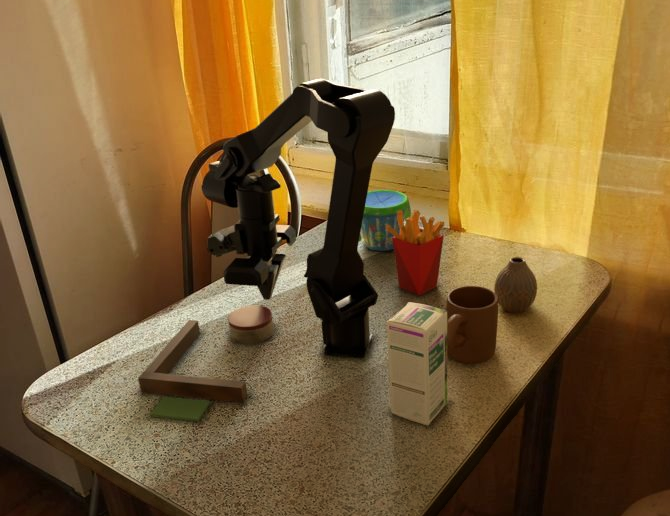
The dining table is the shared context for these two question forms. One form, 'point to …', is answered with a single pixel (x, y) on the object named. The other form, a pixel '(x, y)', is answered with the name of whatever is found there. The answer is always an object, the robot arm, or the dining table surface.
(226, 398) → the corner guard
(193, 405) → the green rag
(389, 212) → the snack cup
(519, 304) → the vase
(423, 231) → the french fries
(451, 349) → the mug
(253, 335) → the tin
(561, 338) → the dining table surface
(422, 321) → the syrup box
